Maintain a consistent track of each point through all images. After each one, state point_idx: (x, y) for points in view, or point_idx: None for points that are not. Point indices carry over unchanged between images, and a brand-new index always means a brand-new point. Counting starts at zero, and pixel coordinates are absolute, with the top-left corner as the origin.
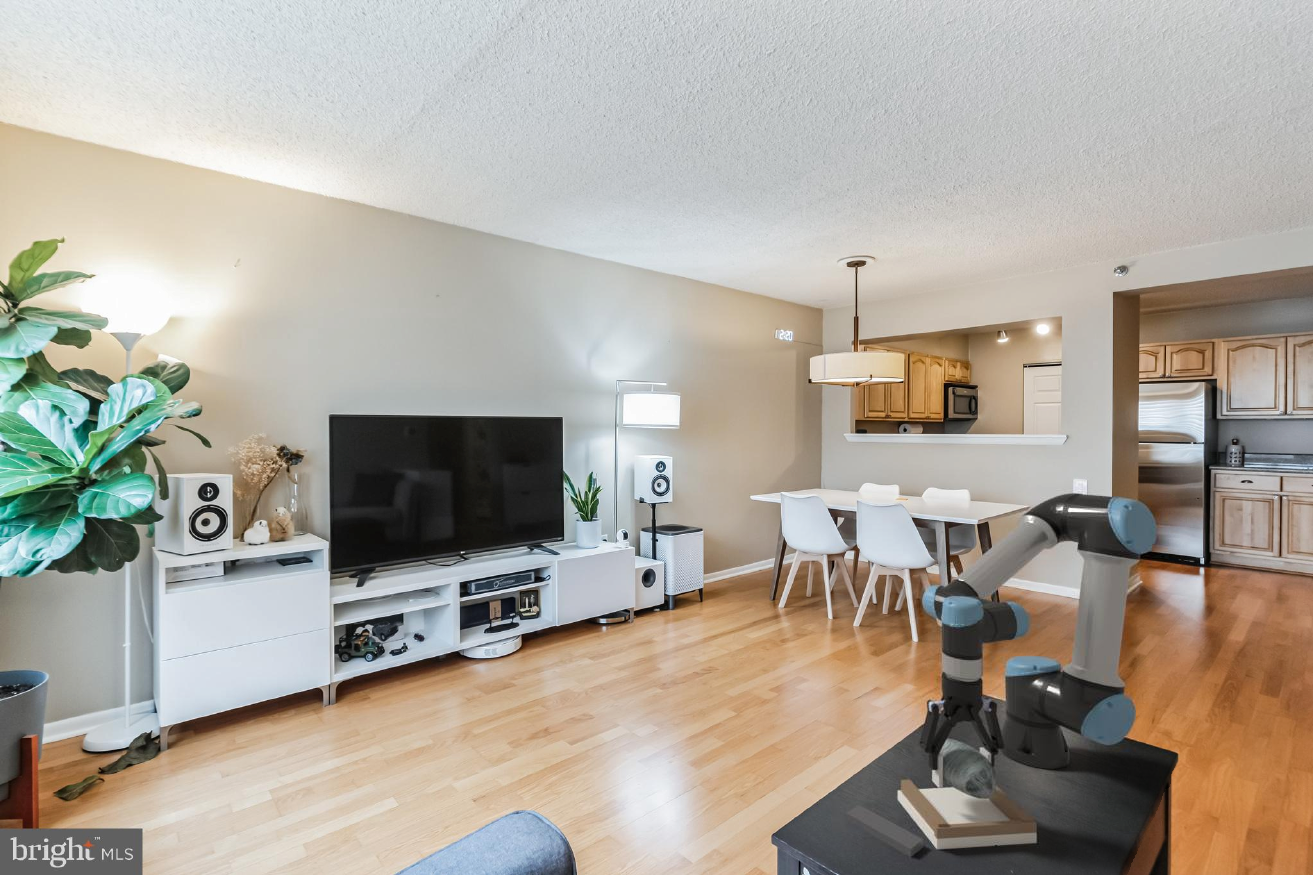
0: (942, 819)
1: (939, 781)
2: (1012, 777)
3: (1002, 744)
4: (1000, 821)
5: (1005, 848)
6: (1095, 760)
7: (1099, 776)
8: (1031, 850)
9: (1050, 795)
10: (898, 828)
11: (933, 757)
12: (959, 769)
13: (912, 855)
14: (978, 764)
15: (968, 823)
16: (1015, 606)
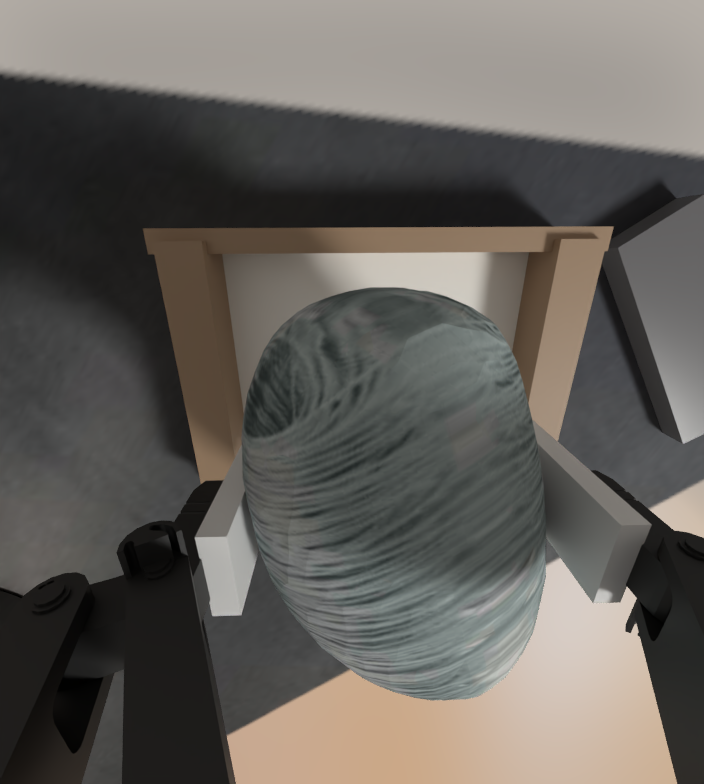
0: (565, 269)
1: (538, 426)
2: (101, 553)
3: (25, 617)
4: (306, 250)
5: (315, 212)
6: None
7: None
8: (224, 191)
9: (14, 471)
10: (654, 317)
11: (660, 527)
12: (524, 410)
13: (665, 205)
14: (432, 374)
15: (454, 250)
16: None
